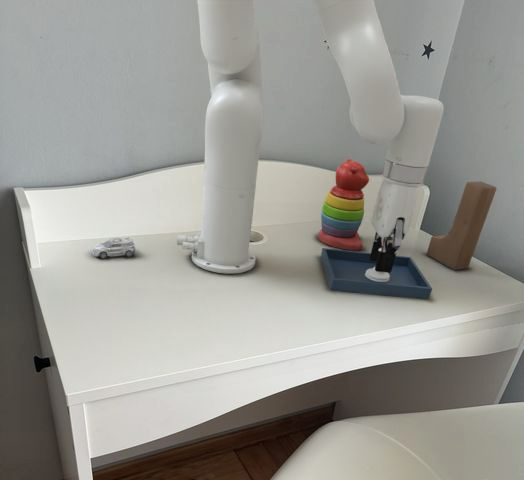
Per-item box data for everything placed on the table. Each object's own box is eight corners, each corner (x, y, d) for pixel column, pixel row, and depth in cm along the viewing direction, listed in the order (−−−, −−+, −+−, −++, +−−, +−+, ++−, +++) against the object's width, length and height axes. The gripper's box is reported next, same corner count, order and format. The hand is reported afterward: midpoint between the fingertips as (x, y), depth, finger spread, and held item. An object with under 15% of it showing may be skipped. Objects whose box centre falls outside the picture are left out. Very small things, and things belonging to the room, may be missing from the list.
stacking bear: (363, 252, 115) (382, 170, 106) (318, 247, 115) (334, 164, 105) (356, 235, 125) (373, 158, 115) (315, 230, 124) (328, 153, 114)
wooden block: (425, 254, 119) (449, 175, 109) (439, 252, 121) (464, 174, 111) (454, 270, 113) (483, 188, 103) (468, 268, 115) (498, 187, 105)
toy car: (90, 251, 99) (89, 236, 97) (132, 249, 102) (132, 235, 100) (93, 259, 96) (92, 244, 94) (136, 257, 99) (136, 242, 98)
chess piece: (389, 284, 102) (402, 235, 96) (364, 279, 102) (376, 230, 97) (389, 274, 106) (402, 227, 100) (365, 269, 106) (376, 222, 101)
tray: (330, 290, 97) (332, 279, 96) (320, 258, 110) (322, 247, 108) (428, 299, 99) (432, 288, 97) (408, 266, 111) (411, 256, 110)
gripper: (374, 159, 100) (354, 248, 110) (395, 183, 86) (369, 282, 95) (411, 163, 100) (388, 251, 110) (438, 188, 86) (409, 286, 96)
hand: (380, 265), depth 103 cm, fingers open, 4 cm apart
